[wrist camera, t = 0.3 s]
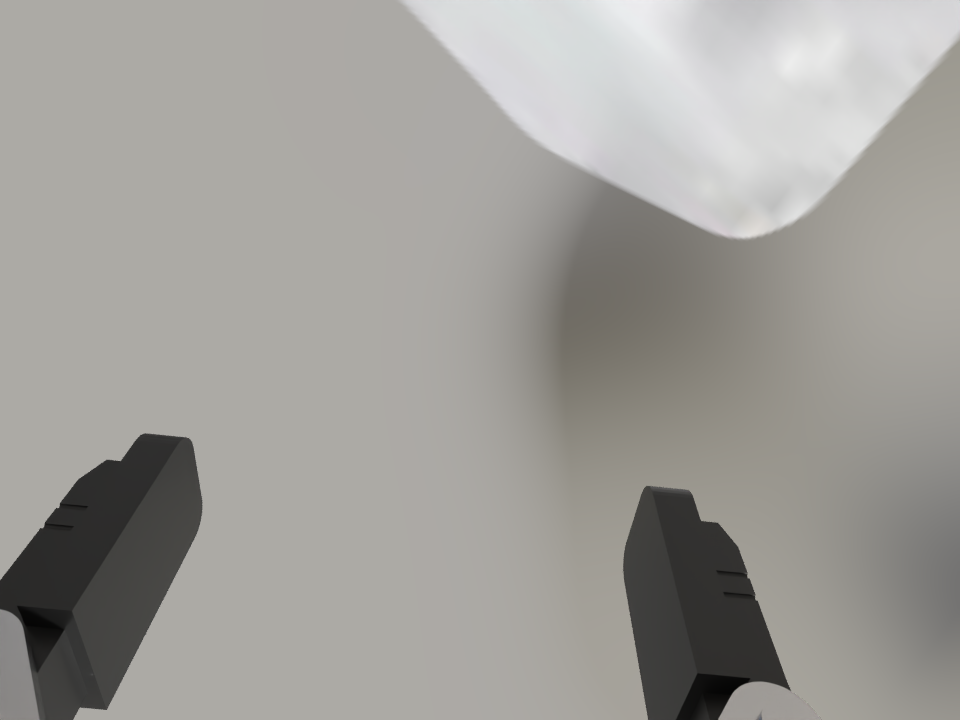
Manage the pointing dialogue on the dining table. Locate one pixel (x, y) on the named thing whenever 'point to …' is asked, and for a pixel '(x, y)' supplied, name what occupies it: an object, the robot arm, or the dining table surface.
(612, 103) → the dining table surface
